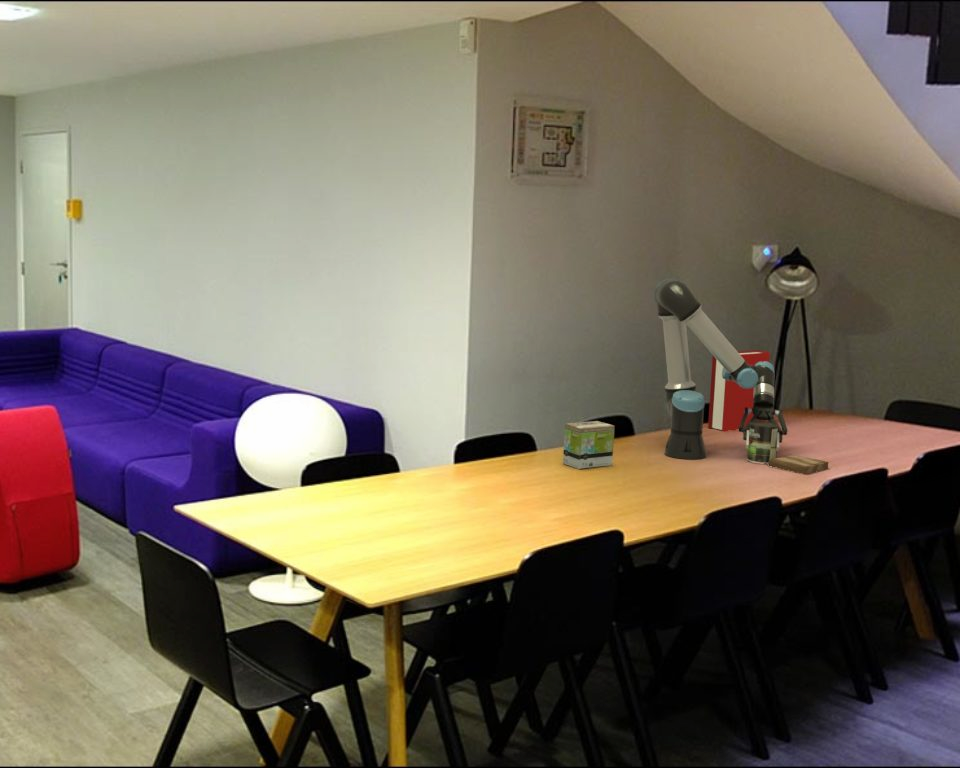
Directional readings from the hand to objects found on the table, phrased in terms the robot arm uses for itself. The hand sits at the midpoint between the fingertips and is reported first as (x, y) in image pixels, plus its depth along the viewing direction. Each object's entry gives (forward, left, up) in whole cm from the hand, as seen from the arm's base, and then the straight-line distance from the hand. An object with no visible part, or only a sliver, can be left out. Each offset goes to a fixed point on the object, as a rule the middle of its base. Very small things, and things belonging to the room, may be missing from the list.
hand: (762, 448), depth 393 cm
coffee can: (+2, +2, -6) cm, 6 cm away
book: (+51, +45, -6) cm, 68 cm away
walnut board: (+4, -12, -5) cm, 14 cm away
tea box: (-55, +36, -6) cm, 65 cm away
